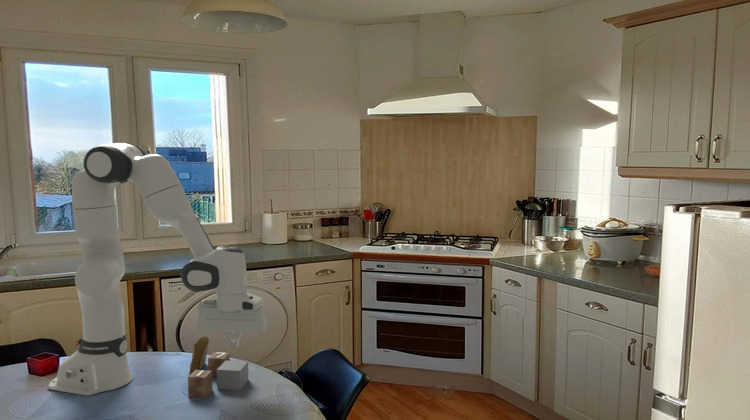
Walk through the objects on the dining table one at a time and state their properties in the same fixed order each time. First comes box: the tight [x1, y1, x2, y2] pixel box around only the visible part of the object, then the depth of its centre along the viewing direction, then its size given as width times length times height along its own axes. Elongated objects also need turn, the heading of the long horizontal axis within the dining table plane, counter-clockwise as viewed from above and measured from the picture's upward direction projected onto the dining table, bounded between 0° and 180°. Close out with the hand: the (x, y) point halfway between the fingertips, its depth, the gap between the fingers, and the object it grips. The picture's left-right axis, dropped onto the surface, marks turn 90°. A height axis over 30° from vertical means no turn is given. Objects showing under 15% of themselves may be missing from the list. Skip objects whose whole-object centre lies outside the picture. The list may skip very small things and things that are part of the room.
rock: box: [188, 335, 210, 375], centre depth 172 cm, size 11×9×10 cm
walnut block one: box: [187, 369, 214, 399], centre depth 155 cm, size 5×5×6 cm
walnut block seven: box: [207, 351, 231, 378], centre depth 169 cm, size 5×5×6 cm
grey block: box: [216, 360, 249, 391], centre depth 161 cm, size 7×7×6 cm
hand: (233, 346), depth 160 cm, fingers closed
